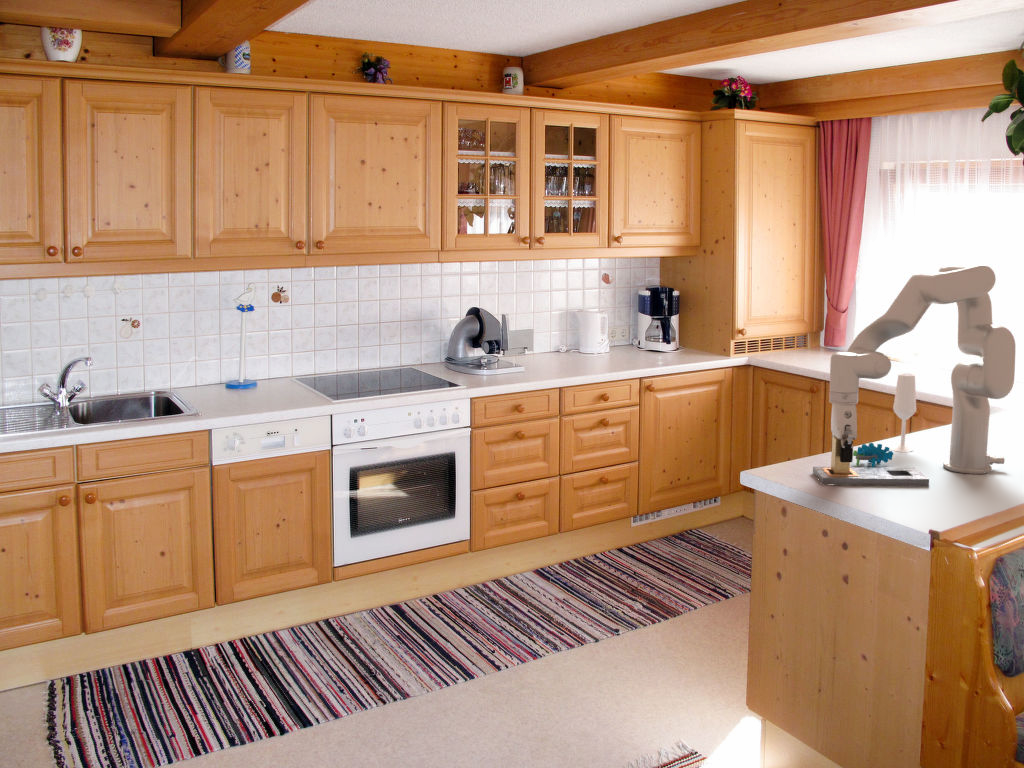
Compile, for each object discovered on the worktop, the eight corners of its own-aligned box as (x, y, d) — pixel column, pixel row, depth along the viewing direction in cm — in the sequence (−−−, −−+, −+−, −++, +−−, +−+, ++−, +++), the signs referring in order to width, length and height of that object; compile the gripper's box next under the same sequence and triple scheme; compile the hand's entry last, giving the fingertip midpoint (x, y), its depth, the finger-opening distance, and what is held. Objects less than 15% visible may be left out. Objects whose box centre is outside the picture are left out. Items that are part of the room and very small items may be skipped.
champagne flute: (904, 446, 295) (908, 372, 291) (918, 451, 288) (923, 375, 284) (886, 448, 293) (890, 373, 289) (900, 452, 287) (904, 376, 283)
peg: (845, 477, 260) (847, 436, 258) (848, 481, 256) (850, 439, 254) (830, 477, 260) (832, 435, 258) (834, 481, 256) (835, 439, 254)
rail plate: (914, 474, 262) (914, 467, 262) (928, 486, 250) (929, 478, 250) (812, 473, 265) (813, 466, 264) (822, 485, 253) (822, 477, 252)
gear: (897, 459, 272) (889, 440, 266) (895, 476, 269) (886, 458, 263) (858, 459, 279) (849, 441, 272) (856, 476, 276) (847, 458, 269)
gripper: (866, 403, 245) (864, 465, 248) (849, 391, 262) (847, 450, 265) (837, 403, 246) (835, 465, 249) (822, 391, 263) (820, 450, 266)
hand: (841, 457), depth 257 cm, fingers open, 9 cm apart
